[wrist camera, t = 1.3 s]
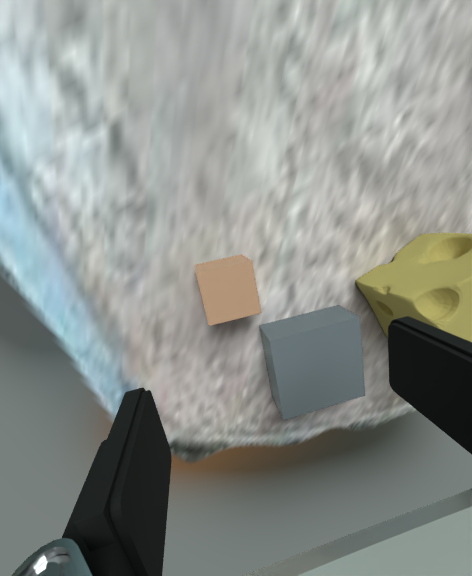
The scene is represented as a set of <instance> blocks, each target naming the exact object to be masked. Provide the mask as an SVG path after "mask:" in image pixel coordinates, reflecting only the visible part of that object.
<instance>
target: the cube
mask: <svg viewBox="0 0 472 576" xmlns="http://www.w3.org/2000/svg"><path fill="white" fill-rule="evenodd" d="M195 268H196V276H197V280H198V284H199V288H200V292H201V296H202V300H203V304H204V308H205V312H206V316H207V320H208V324H209V326H211V325H215V324H219V323H223V322H227V321H231V320H235V319H239V318H243V317H247V316H251V315H255V314H259V313H261V308H260V302H259V297H258V291H257V286H256V280H255V275H254V269H253V264H252V260H250V259H248V258H247V257H245V256H243V255H237V256H232V257H228V258H223V259H219V260H215V261H210V262H206V263H201V264H197V265H195Z"/></svg>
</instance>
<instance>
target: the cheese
mask: <svg viewBox="0 0 472 576" xmlns="http://www.w3.org/2000/svg"><path fill="white" fill-rule="evenodd" d="M356 284H357V285H358V287H359V289H360V290H361V291H362V293H363V294H364V296H365V297H366V299H367V300H368V302H369V304H370V306H371V308H372V310H373V311H374V313H375V315H376V317H377V319H378V321H379V323H380V325H381V327H382V329H383V331H384V333H385V334H386V336H387V337H388V326H389V325H390V323H391V321H392V320H394V319H398V318H402V317H406V316H409V317H412V318H414V319H417V320H419V321H421V322H424V323H426V324H429V325H431V326H434V327H436V328H438V329H441V330H443V331H446V332H448V333H451V334H453V335H455V336H458V337H460V338H463V339H465V340H468V341H470V342H472V234H460V233H431V234H421V235H420V236H418V237H417V238H416V239H414V240H413V241H412V242H410V243H409V244H408V245H406V246H405V247H404V248H402V249H401V250H400V251H399V252H397V253H396V255H395V257H394V260H393V261H392V262H391V263H389V264H386V265H379V266H377V267H376V268H374V269H372V270H371V271H370V272H368V273H366V274H365V275H363V276H361V277H360V278H358V279H357V280H356Z"/></svg>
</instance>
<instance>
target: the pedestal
mask: <svg viewBox="0 0 472 576" xmlns="http://www.w3.org/2000/svg"><path fill="white" fill-rule="evenodd" d="M259 327H260V332H261V337H262V343H263V348H264V354H265V359H266V365H267V370H268V375H269V381H270V386H271V392H272V397H273V399H274V401H275V403H276V405H277V408H278V410H279V412H280V414H281V416H282V418H283V420H286V419H290V418H293V417H296V416H300V415H303V414H306V413H309V412H313V411H316V410H319V409H322V408H326V407H329V406H332V405H335V404H339V403H342V402H345V401H349V400H352V399H355V398H358V397H362V396H365V387H364V371H363V355H362V339H361V324H360V316H358V315H356V314H354V313H352V312H350V311H349V310H347V309H345V308H343V307H341V306H339V305H337V306H333V307H329V308H326V309H322V310H318V311H314V312H310V313H306V314H302V315H298V316H294V317H291V318H287V319H283V320H279V321H275V322H271V323H267V324H263V325H259Z"/></svg>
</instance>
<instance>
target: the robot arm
mask: <svg viewBox="0 0 472 576" xmlns="http://www.w3.org/2000/svg"><path fill="white" fill-rule="evenodd" d="M388 351H389V382H390V386H391V388H392V389H393V391H394V392H396V393H397V394H398V395H399V396H400V397H402V398H403V399H404V400H405V401H407V402H408V403H409V404H410V405H412V406H413V407H414V408H415V409H416V410H418V411H419V412H420V413H422V414H423V415H424V416H425V417H426V418H428V419H429V420H430V421H432V422H433V423H434V424H435V425H436V426H438V427H439V428H440V429H441V430H442V431H444V432H445V433H446V434H447V435H449V436H450V437H451V438H452V439H454V440H455V441H456V442H457V443H459V444H460V445H461V446H462V447H463V448H465V449H466V450H467V451H468V452H470V453H471V454H472V342H470V341H468V340H465V339H463V338H460V337H458V336H455V335H453V334H451V333H448V332H446V331H443V330H441V329H438V328H436V327H434V326H431V325H429V324H426V323H424V322H421V321H419V320H417V319H414V318H412V317H409V316H406V317H402V318H398V319H394V320H392V321H391V323H390V325H389V326H388ZM170 470H171V451H170V447H169V444H168V441H167V438H166V435H165V432H164V429H163V426H162V423H161V420H160V417H159V414H158V411H157V408H156V405H155V402H154V399H153V396H152V393H151V391H150V390H148V391H145V389H144V388H139V389H136V390H132V391H128V392H126V393H125V395H124V397H123V400H122V402H121V405H120V407H119V410H118V413H117V415H116V418H115V420H114V423H113V425H112V428H111V431H110V433H109V436H108V438H107V440H104V441H103V442H102V443H101V445H100V447H99V449H98V452H97V454H96V457H95V459H94V461H93V464H92V466H91V468H90V471H89V473H88V476H87V478H86V481H85V483H84V485H83V488H82V491H81V493H80V495H79V498H78V500H77V502H76V505H75V507H74V510H73V512H72V514H71V517H70V519H69V522H68V524H67V527H66V529H65V532H64V534H63V536H62V538H61V539H57V540H53V541H52V542H50V543H48V544H46V545H44V546H42V547H41V548H39V549H38V550H37V551H36V552H34V553H33V554H32V555H30V556H29V557H28V558H27V559H26V560H25V561H24V562H23V563H22V564H21V565H20V566H19V567H18V568H17V569H16V570H15V572H14V573H13V574H12V576H162V568H163V557H164V545H165V533H166V532H165V531H166V520H167V508H168V496H169V484H170ZM244 576H472V489H469V490H467V491H464V492H461V493H459V494H456V495H454V496H451V497H448V498H446V499H443V500H440V501H437V502H435V503H432V504H429V505H427V506H424V507H421V508H419V509H416V510H413V511H411V512H408V513H405V514H403V515H400V516H398V517H395V518H392V519H390V520H387V521H384V522H382V523H379V524H376V525H374V526H371V527H368V528H366V529H363V530H360V531H358V532H355V533H353V534H350V535H348V536H345V537H342V538H340V539H337V540H334V541H332V542H329V543H327V544H324V545H321V546H319V547H316V548H314V549H311V550H308V551H306V552H303V553H301V554H298V555H295V556H293V557H290V558H288V559H285V560H282V561H280V562H277V563H275V564H272V565H270V566H267V567H264V568H262V569H259V570H256V571H254V572H251V573H249V574H246V575H244Z"/></svg>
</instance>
